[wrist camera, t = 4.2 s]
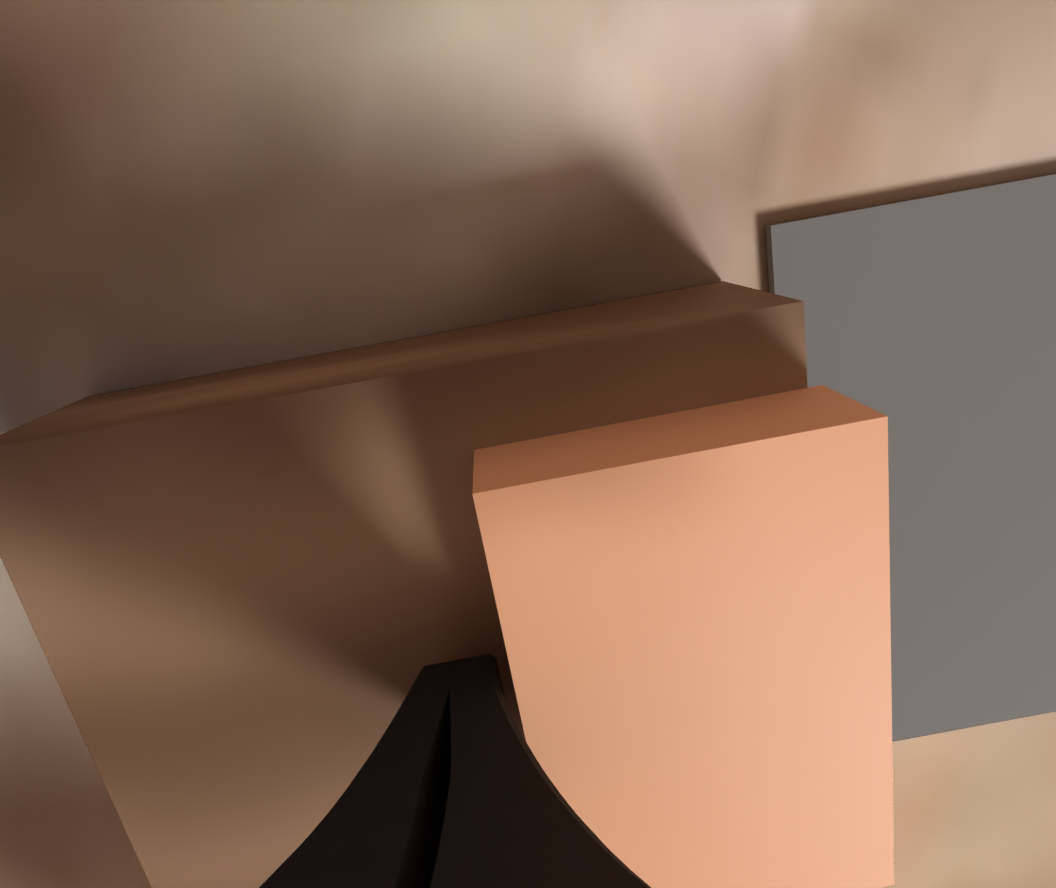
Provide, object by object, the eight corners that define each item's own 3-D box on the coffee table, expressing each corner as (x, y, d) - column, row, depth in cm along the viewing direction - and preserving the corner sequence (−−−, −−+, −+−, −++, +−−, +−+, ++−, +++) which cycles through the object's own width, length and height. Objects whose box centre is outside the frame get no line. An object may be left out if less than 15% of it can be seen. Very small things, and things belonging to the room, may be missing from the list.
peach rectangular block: (840, 798, 15) (894, 884, 13) (559, 851, 15) (570, 946, 13) (821, 384, 12) (887, 416, 10) (474, 449, 12) (472, 494, 10)
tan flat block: (759, 727, 19) (829, 855, 15) (250, 821, 19) (191, 974, 15) (723, 281, 15) (803, 301, 11) (87, 396, 15) (-46, 455, 11)
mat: (1222, 671, 19) (1234, 678, 19) (797, 750, 19) (802, 758, 19) (1314, 126, 15) (1330, 124, 15) (765, 226, 15) (770, 225, 15)
